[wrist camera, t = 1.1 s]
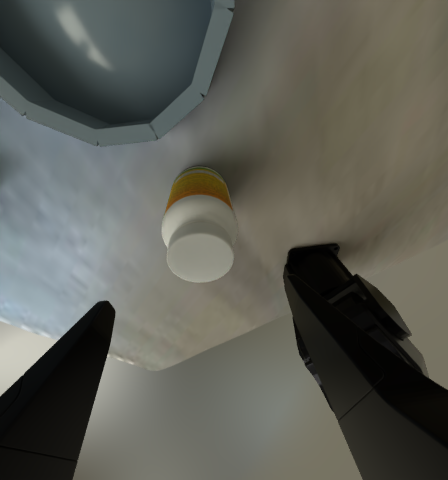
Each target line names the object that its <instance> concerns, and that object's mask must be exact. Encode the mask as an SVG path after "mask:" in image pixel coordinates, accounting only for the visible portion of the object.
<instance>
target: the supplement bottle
mask: <svg viewBox="0 0 448 480" xmlns="http://www.w3.org/2000/svg"><path fill="white" fill-rule="evenodd" d="M237 236H238V224H237V219H236V216H235V212H234V209H233V205H232V202H231V198H230V195H229V191H228V188H227V185H226V183H225V181H224V179H223V178H222V177H221V176H220V175H219V174H218V173H217V172H216V171H214V170H212V169H210V168H207V167H203V166H197V167H191V168H188V169H186V170H184V171H183V172H181V173H180V174H179V175H178V176H177V178H176V179H175V181H174V183H173V186H172V189H171V193H170V197H169V200H168V204H167V207H166V211H165V214H164V218H163V222H162V237H163V240H164V243H165V245H166V246H167V248H168V250H167V263H168V266H169V268H170V269H171V271H172V272H173V273H174V274H175V275H177V276H178V277H180V278H182V279H184V280H187V281H190V282H198V283H202V282H210V281H213V280H216V279H218V278H220V277H222V276H223V275H225V274H226V273H227V272H228V271H229V270H230V268H231V267H232V265H233V262H234V250H233V246H234V244H235V242H236V240H237Z"/></svg>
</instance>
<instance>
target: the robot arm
mask: <svg viewBox="0 0 448 480" xmlns="http://www.w3.org/2000/svg"><path fill="white" fill-rule="evenodd" d="M339 249H340V247H339V245H338V244H329V245H321V246H314V247H306V248H298V249H292V250H290V251H289V252H288V256H287V263H286V265H285V267H284V274H283V279H284V284H285V285H284V287H285V292H286V295H287V298H288V301H289V305H290V308H291V311H292V315H293V323H294V328H295V334H296V340H297V346H298V350H299V355H300V356H301V358H302V360H303V361H304V363H305V366H306V368H307V369H308V370H309V371H310V373H311V374H312V375H313V377H314V378H315V380H316V381H317V383H318V384H319V386H320V388H321V390H322V392H323V393H324V396H325V398H326V400H327V402H328V404H329V406H330V408H331V409H332V411H333V412H334V413H335V416H336V418H337V420H338V423H339V425H340V427H341V430H342V432H343V435H344V437H345V439H346V441H347V444H348V446H349V449H350V451H351V453H352V455H353V458H354V460H355V463H356V465H357V467H358V469H359V472H360V474H361V476H362V479H363V480H448V390H447V389H445V388H444V387H442V386H440V385H439V384H437V383H435V382H434V381H432V380H431V379H429V376H428V372H427V368H426V365H425V361H424V358H423V356H422V354H421V353H420V352H419V350H418V349H417V348H416V347H415V346H414V345H413V344H412V343H411V341H410V340H409V339H408V338H407V337H410V336H411V335H412V334H411V332H410V330H409V329H408V327H407V326H406V324H405V322H404V321H403V319H402V318H401V316H400V314H399V313H398V311H397V310H396V308H395V307H394V305H393V304H392V303H391V302H390V301H389V300H388V299H387V298H386V297H385V296H384V295H383V294H382V293H381V292H380V291H379V290H378V289H377V288H376V287H375V286H373V285H372V284H370V283H369V282H368V281H366V280H365V279H363V278H362V277H361V276H359V275H358V274H355V275H354V276H353V275H352V274H351V273H350V272H349V271H348V269H347V268H346V267H345V266H344V265H343V263H342V262H341V261H340V260H339V259H338V257H337V254H338V252H339ZM292 253H293V254H292ZM114 320H115V309H114V308H113V306H112V305H111V304H110V302H109V301H100V302H98V303H96V304H95V305H94V306H93V307H92V308H91V309H90V310H89V311H88V312H87V313H86V314H85V315H84V316H83V317H82V318H81V319H80V320H79V321H78V322H77V323H76V324H75V325H74V326H73V327H72V328H71V329H70V330H69V331H68V332H66V333H65V334H64V335H63V336H62V337H61V338H60V339H59V340H58V341H57V342H56V343H55V344H54V345H53V346H52V347H51V348H50V349H49V350H48V351H47V352H46V353H45V354H44V355H43V356H42V357H41V358H40V359H39V360H38V361H37V362H36V363H35V364H34V365H33V366H31V367H30V369H28V370H27V371H26V372H25V374H24V375H23V376H21V377H20V378H19V379H18V380H17V381H16V382H15V383H14V384H13V385H12V386H11V387H10V388H9V389H8V390H7V391H6V392H4V393H3V394H2V395H1V396H0V480H72V479H73V476H74V472H75V468H76V465H77V460H78V458H79V454H80V450H81V447H82V443H83V440H84V436H85V433H86V429H87V425H88V422H89V418H90V415H91V411H92V408H93V404H94V401H95V397H96V393H97V390H98V386H99V383H100V379H101V376H102V372H103V368H104V365H105V361H106V358H107V354H108V351H109V347H110V343H111V337H112V331H113V326H114Z"/></svg>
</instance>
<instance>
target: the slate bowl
mask: <svg viewBox="0 0 448 480" xmlns="http://www.w3.org/2000/svg"><path fill="white" fill-rule="evenodd" d="M234 8H235V4H234V0H0V97H1V98H2V99H3V100H4V101H6V102H7V103H8V104H9V105H10V106H11V107H13V108H14V109H15V110H16V111H17V112H18V113H20V114H21V115H22V116H24V115H26V118H27V119H29V120H32V121H34V122H37V123H39V124H42V125H44V126H47V127H50V128H52V129H55V130H57V131H60V132H62V133H65V134H67V135H70V136H72V137H75V138H77V139H80V140H82V141H85V142H87V143H90V144H92V145H95V146H98V145H99V146H100V147H102V146H111V145H120V144H129V143H138V142H147V141H156V140H158V138H159V139H160V138H161V137H163V136H164V135H165V134H166V133H167V132H168V131H169V130H170V129H171V128H173V127H174V126H175V125H176V124H177V123H178V122H179V121H180V120H182V119H183V118H184V117H185V116H186V115H187V114H188V113H189V112H190V111H192V110H193V109H194V108H195V107H196V106H197V105H198V104H199V103H201V102H202V101H203V100H204V99H203V97H202V95H201V94H203V95H205V96H206V95H207V92H208V89H209V86H210V83H211V80H212V77H213V74H214V71H215V68H216V65H217V62H218V59H219V56H220V53H221V50H222V47H223V44H224V41H225V38H226V35H227V32H228V29H229V26H230V23H231V20H232V17H233V14H234V13H233V10H234Z"/></svg>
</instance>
